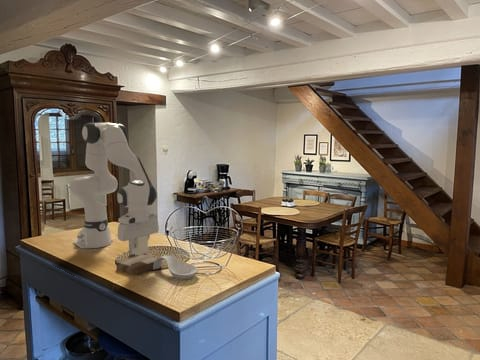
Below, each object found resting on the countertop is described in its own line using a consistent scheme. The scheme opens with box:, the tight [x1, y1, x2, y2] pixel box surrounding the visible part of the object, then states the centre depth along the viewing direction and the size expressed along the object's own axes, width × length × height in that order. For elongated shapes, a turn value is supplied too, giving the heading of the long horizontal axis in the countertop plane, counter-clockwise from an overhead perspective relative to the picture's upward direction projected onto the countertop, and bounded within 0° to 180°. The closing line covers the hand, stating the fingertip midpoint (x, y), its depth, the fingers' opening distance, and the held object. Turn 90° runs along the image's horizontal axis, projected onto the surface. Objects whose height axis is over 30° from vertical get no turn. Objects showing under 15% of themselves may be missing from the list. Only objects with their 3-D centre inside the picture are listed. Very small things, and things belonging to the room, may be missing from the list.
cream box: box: [132, 235, 149, 255], centre depth 164 cm, size 5×5×8 cm
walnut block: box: [115, 254, 158, 277], centre depth 165 cm, size 14×14×4 cm
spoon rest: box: [152, 255, 199, 281], centre depth 157 cm, size 24×12×7 cm, turn 54°
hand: (139, 246), depth 164 cm, fingers closed on cream box, 5 cm apart
